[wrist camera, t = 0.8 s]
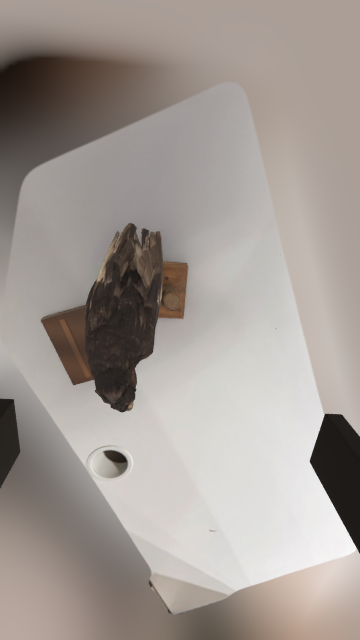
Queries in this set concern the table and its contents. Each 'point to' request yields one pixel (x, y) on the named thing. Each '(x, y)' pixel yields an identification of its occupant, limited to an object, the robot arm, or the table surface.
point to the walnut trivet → (70, 342)
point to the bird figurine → (129, 312)
